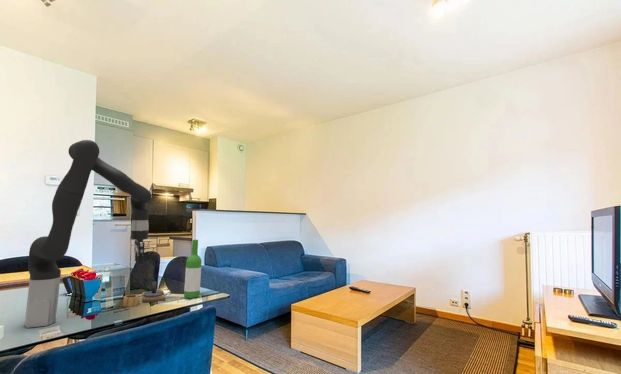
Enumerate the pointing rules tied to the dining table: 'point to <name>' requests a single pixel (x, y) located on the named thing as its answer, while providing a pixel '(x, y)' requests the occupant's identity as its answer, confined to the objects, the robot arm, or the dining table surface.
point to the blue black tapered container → (68, 285)
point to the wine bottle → (193, 273)
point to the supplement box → (98, 295)
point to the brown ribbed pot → (130, 300)
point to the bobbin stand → (153, 295)
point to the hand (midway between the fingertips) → (138, 262)
